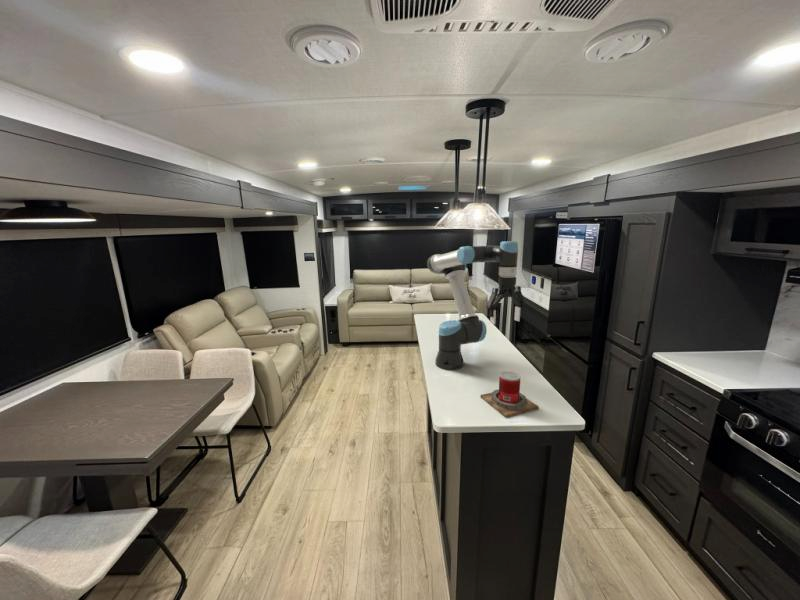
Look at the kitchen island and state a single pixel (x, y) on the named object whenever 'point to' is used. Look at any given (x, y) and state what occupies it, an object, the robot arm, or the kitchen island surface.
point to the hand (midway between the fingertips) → (505, 322)
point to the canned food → (509, 387)
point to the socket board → (507, 411)
